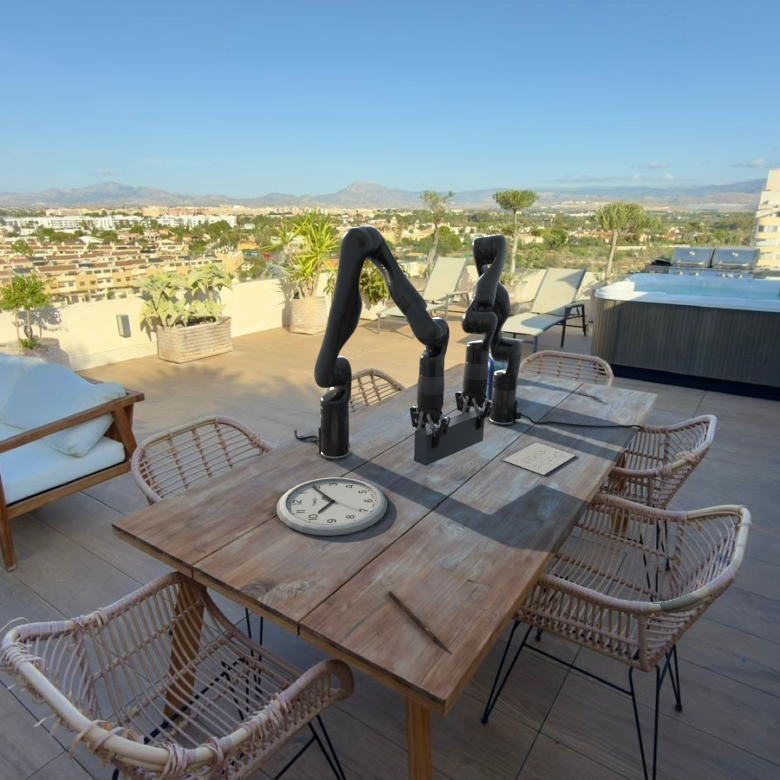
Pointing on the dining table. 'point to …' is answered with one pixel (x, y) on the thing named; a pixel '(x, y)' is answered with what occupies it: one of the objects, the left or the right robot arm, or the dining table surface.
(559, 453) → the invitation card
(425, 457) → the bar
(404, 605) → the dark brown stick
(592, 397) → the fork
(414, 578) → the dining table surface
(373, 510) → the wall clock
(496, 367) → the lunch box
